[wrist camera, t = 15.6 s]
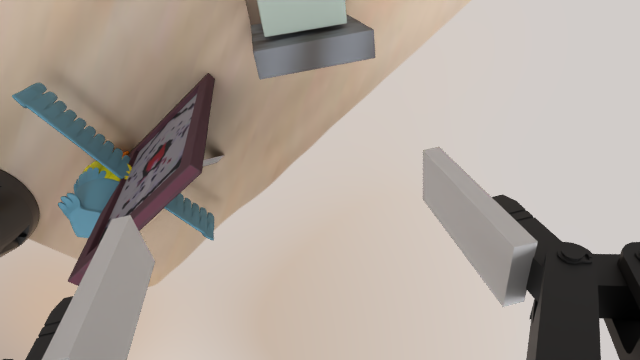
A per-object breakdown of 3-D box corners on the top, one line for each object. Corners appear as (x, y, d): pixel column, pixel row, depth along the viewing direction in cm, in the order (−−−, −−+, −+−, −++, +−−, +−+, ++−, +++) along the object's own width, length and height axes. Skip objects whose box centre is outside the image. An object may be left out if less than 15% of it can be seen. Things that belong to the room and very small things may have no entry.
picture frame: (208, 72, 50) (181, 156, 29) (260, 121, 55) (269, 223, 34) (130, 151, 54) (57, 276, 33) (186, 190, 58) (152, 321, 37)
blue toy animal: (12, 113, 48) (-72, 169, 36) (54, 70, 47) (-19, 113, 34) (181, 231, 62) (164, 301, 50) (218, 201, 61) (210, 266, 48)
